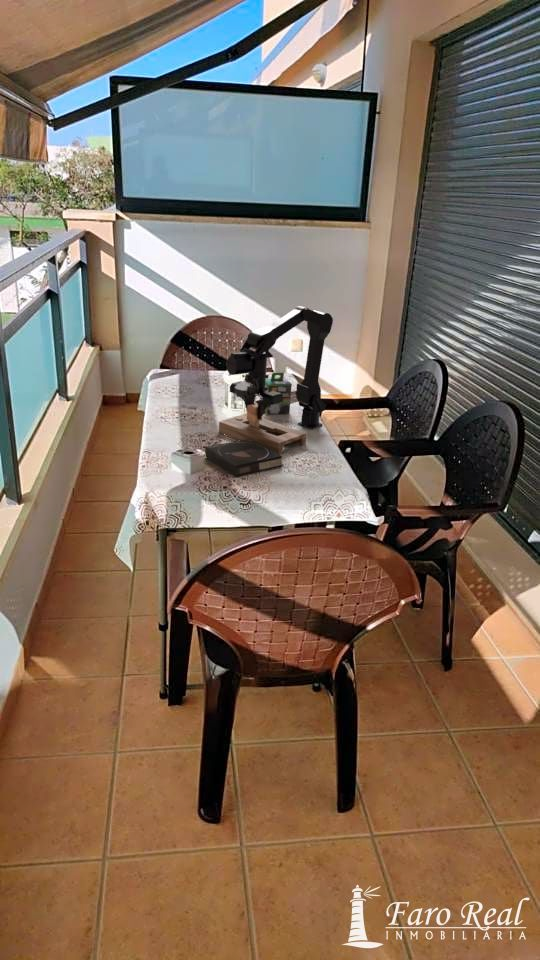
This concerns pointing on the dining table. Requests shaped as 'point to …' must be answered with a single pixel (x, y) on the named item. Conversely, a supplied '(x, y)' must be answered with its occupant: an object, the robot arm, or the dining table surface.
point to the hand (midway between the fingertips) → (254, 417)
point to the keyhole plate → (262, 432)
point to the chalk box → (282, 387)
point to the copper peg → (253, 415)
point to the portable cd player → (243, 457)
